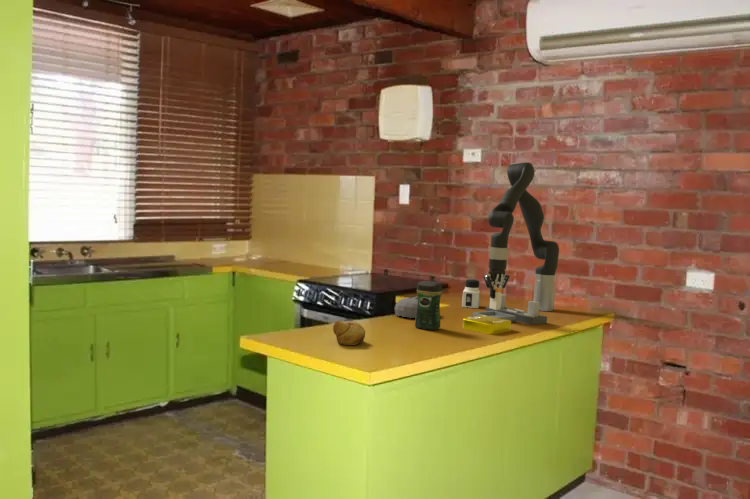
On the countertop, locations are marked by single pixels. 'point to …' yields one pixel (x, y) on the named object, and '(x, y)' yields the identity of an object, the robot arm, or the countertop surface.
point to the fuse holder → (522, 315)
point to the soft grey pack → (407, 307)
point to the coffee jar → (428, 305)
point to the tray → (496, 315)
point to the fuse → (533, 308)
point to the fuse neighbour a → (502, 301)
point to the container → (471, 294)
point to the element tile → (486, 324)
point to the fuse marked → (496, 300)
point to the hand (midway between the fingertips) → (495, 297)
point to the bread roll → (349, 332)
